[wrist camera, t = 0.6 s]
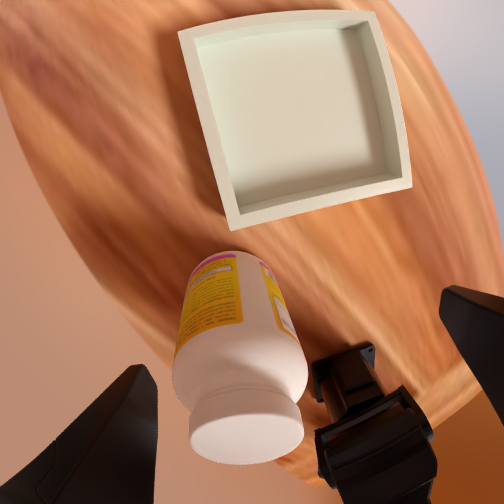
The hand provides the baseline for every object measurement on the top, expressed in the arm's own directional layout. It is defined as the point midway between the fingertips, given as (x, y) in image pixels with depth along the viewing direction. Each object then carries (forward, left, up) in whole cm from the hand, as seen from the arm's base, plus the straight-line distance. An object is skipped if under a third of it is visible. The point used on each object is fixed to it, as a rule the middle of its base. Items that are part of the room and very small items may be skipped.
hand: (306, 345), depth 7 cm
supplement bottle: (-5, +3, -13) cm, 15 cm away
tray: (+6, -5, -13) cm, 15 cm away
